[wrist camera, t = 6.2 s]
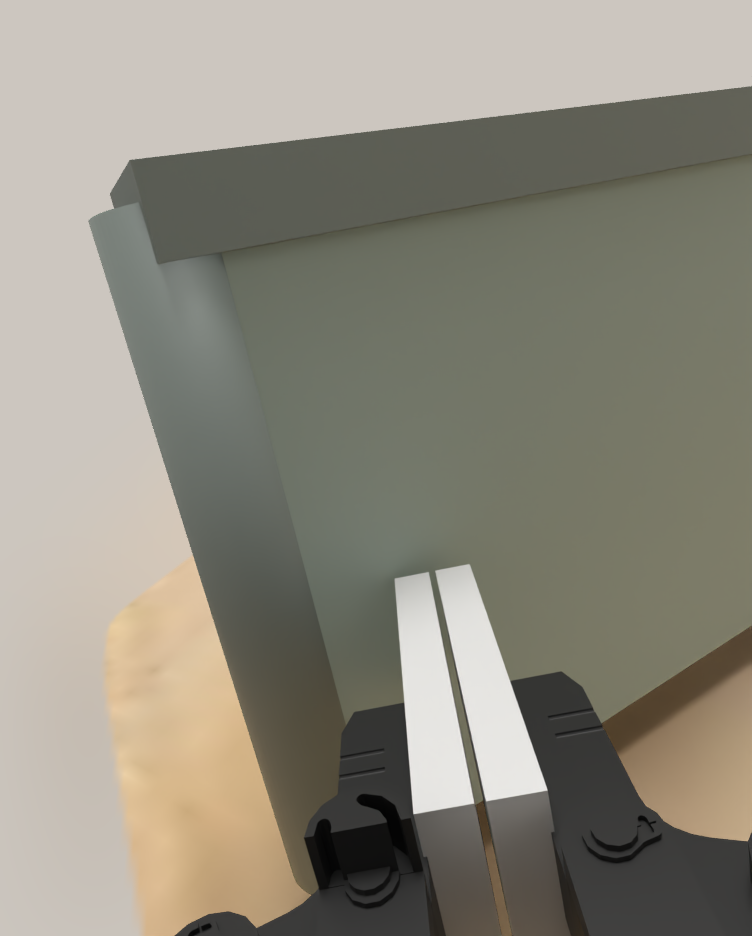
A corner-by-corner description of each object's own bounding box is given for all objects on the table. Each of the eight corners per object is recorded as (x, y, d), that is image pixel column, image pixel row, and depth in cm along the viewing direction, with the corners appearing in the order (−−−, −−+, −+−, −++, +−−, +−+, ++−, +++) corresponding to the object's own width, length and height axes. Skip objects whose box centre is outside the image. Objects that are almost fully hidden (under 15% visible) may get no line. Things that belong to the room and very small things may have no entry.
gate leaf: (759, 560, 25) (735, 107, 21) (833, 581, 23) (824, 77, 18) (277, 845, 17) (71, 198, 13) (317, 921, 15) (84, 165, 10)
